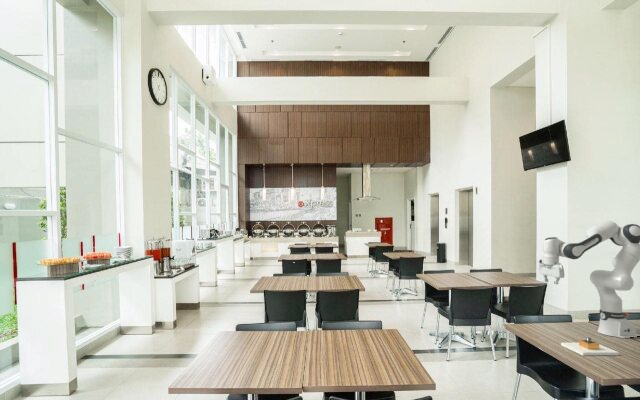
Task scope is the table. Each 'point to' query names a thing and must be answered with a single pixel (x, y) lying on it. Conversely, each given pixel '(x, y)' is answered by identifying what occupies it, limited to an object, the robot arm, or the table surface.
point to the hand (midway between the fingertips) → (551, 282)
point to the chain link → (588, 344)
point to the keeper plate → (584, 351)
